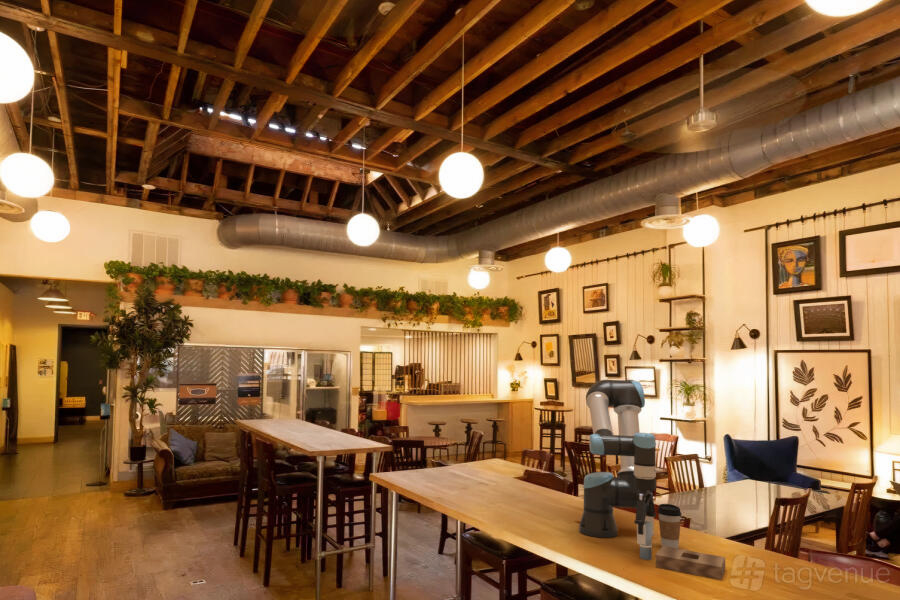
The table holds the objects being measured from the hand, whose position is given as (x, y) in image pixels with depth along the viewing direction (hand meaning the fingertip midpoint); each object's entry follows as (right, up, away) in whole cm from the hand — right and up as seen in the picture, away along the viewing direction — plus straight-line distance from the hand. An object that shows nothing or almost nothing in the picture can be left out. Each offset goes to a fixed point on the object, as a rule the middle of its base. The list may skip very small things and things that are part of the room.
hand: (645, 539), depth 199 cm
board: (+12, -6, -10) cm, 16 cm away
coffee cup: (+13, -9, +12) cm, 20 cm away
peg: (0, -6, 0) cm, 6 cm away
